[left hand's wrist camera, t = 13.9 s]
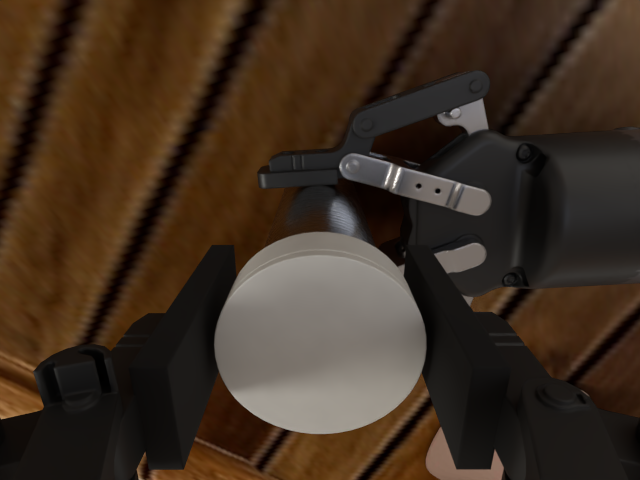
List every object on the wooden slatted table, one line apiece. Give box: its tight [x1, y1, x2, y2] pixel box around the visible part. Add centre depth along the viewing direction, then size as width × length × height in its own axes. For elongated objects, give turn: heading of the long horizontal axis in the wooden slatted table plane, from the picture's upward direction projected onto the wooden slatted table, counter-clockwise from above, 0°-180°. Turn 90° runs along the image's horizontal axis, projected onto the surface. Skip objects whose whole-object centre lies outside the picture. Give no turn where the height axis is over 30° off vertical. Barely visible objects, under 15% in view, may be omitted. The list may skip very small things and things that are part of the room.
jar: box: [265, 178, 376, 248], centre depth 18 cm, size 4×4×16 cm
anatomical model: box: [426, 390, 589, 480], centre depth 31 cm, size 13×4×12 cm
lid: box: [214, 232, 427, 434], centre depth 11 cm, size 6×6×2 cm
